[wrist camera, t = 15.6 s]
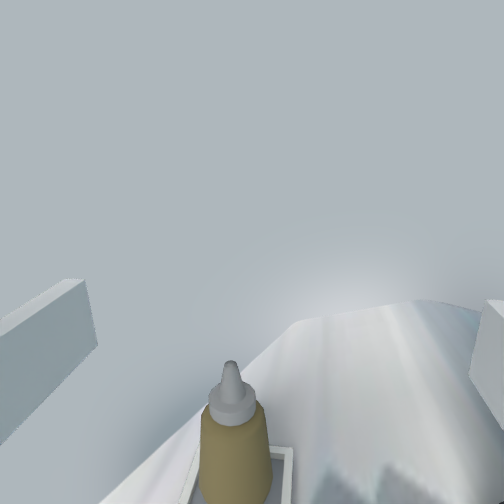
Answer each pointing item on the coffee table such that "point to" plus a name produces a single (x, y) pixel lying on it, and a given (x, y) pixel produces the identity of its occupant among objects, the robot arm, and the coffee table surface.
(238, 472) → the squeeze bottle
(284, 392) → the coffee table surface
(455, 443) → the coffee table surface
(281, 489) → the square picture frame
